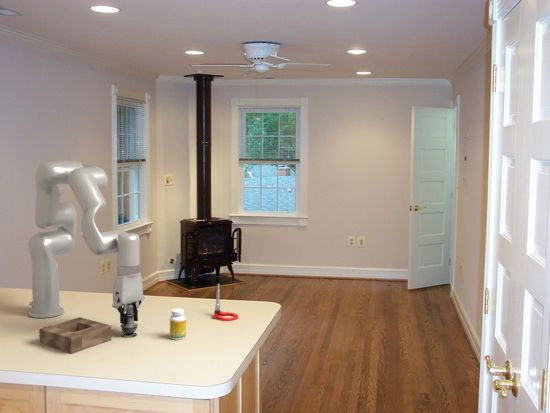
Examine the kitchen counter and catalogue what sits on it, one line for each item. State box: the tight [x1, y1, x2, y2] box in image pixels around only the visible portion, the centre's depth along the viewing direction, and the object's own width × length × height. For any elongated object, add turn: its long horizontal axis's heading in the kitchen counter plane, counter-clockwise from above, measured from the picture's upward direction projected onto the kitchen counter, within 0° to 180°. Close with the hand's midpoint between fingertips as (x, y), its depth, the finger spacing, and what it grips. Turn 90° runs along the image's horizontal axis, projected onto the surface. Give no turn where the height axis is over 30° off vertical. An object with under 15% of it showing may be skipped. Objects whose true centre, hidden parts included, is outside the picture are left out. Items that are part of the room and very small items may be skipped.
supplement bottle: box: [169, 308, 187, 341], centre depth 204 cm, size 5×5×10 cm
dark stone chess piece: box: [119, 303, 139, 339], centre depth 205 cm, size 6×6×12 cm
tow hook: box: [211, 283, 239, 322], centre depth 227 cm, size 8×13×9 cm
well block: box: [39, 316, 112, 355], centre depth 198 cm, size 16×16×5 cm
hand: (129, 321), depth 205 cm, fingers open, 3 cm apart
